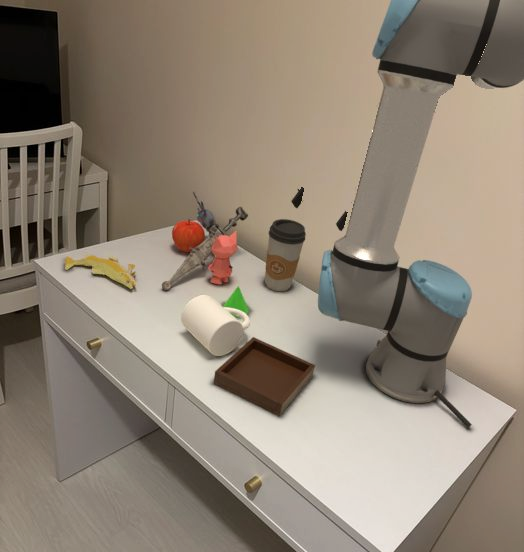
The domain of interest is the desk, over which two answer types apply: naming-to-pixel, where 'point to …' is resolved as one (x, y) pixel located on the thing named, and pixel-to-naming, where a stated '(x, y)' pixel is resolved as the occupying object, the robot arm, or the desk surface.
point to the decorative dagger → (203, 249)
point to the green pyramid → (237, 302)
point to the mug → (214, 324)
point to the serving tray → (264, 375)
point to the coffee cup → (283, 253)
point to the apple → (187, 235)
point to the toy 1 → (106, 268)
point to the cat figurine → (222, 257)
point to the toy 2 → (205, 216)
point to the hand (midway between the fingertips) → (315, 216)
